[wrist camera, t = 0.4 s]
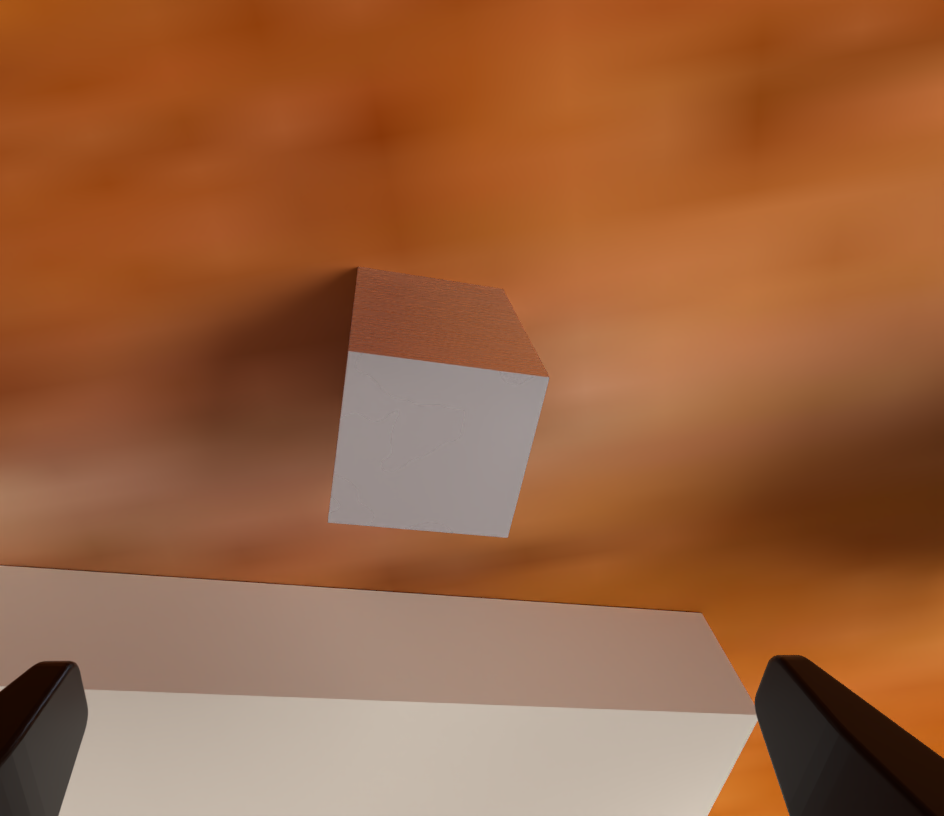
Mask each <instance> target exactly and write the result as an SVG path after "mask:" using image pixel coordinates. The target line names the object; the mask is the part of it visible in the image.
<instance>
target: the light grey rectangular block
mask: <svg viewBox="0 0 944 816" xmlns="http://www.w3.org/2000/svg"><path fill="white" fill-rule="evenodd" d="M548 381H549V376H548V374H547V372H546V370H545V368H544V366H543V364H542V362H541V360H540V358H539V357H538V355H537V353H536V351H535V349H534V347H533V345H532V343H531V341H530V339H529V338H528V336H527V334H526V332H525V330H524V328H523V326H522V324H521V322H520V320H519V319H518V317H517V315H516V313H515V311H514V309H513V307H512V305H511V303H510V301H509V300H508V298H507V296H506V294H505V292H504V290H503V289H499V288H493V287H486V286H480V285H473V284H467V283H460V282H454V281H447V280H441V279H435V278H428V277H422V276H415V275H409V274H402V273H396V272H389V271H383V270H376V269H370V268H364V267H358V272H357V280H356V288H355V297H354V305H353V313H352V321H351V330H350V338H349V346H348V354H347V363H346V371H345V379H344V387H343V396H342V404H341V413H340V421H339V430H338V439H337V447H336V456H335V465H334V473H333V482H332V491H331V499H330V508H329V517H328V523H340V524H351V525H363V526H375V527H387V528H399V529H410V530H422V531H434V532H446V533H458V534H469V535H481V536H493V537H505V538H508V535H509V531H510V527H511V523H512V519H513V515H514V512H515V508H516V504H517V500H518V496H519V492H520V489H521V485H522V481H523V477H524V473H525V469H526V466H527V462H528V458H529V454H530V450H531V446H532V443H533V439H534V435H535V431H536V427H537V423H538V420H539V416H540V412H541V408H542V404H543V400H544V397H545V393H546V389H547V385H548Z"/></svg>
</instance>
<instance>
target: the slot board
mask: <svg viewBox="0 0 944 816" xmlns="http://www.w3.org/2000/svg"><path fill="white" fill-rule="evenodd" d="M42 661H73V662H75V663H76V664H77V665H78V667H79V669H80V673H81V678H82V682H83V687H84V691H85V696H86V700H87V705H88V720H87V725H86V729H85V733H84V736H83V739H82V742H81V745H80V749H79V752H78V755H77V758H76V761H75V765H74V768H73V771H72V774H71V777H70V781H69V784H68V787H67V790H66V793H65V797H64V800H63V803H62V806H61V809H60V813H59V816H707V815H708V814H709V812H710V810H711V808H712V806H713V804H714V802H715V800H716V798H717V797H718V795H719V793H720V791H721V789H722V787H723V785H724V783H725V781H726V779H727V778H728V776H729V774H730V772H731V770H732V768H733V766H734V764H735V762H736V760H737V759H738V757H739V755H740V753H741V751H742V749H743V747H744V745H745V743H746V741H747V740H748V738H749V736H750V734H751V732H752V730H753V728H754V726H755V724H756V722H757V721H758V719H757V716H756V711H755V705H754V703H753V701H752V700H751V698H750V696H749V694H748V693H747V691H746V689H745V688H744V686H743V684H742V682H741V681H740V679H739V677H738V675H737V674H736V672H735V670H734V668H733V667H732V665H731V663H730V661H729V660H728V658H727V656H726V655H725V653H724V651H723V649H722V648H721V646H720V644H719V642H718V641H717V639H716V637H715V635H714V634H713V632H712V630H711V628H710V627H709V625H708V623H707V622H706V620H705V618H704V616H703V615H702V613H694V612H679V611H665V610H650V609H635V608H620V607H606V606H591V605H576V604H561V603H547V602H532V601H517V600H502V599H488V598H473V597H458V596H443V595H429V594H414V593H399V592H384V591H370V590H355V589H340V588H325V587H311V586H296V585H281V584H266V583H252V582H237V581H222V580H207V579H193V578H178V577H163V576H148V575H134V574H119V573H104V572H89V571H75V570H60V569H45V568H30V567H16V566H1V565H0V691H1V690H2V689H4V688H5V687H6V686H7V685H9V684H10V683H11V682H13V681H14V680H15V679H16V678H18V677H19V676H20V675H21V674H23V673H24V672H25V671H27V670H28V669H29V668H30V667H32V666H33V665H35V664H37V663H39V662H42Z"/></svg>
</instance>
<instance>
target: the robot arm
mask: <svg viewBox="0 0 944 816" xmlns="http://www.w3.org/2000/svg"><path fill="white" fill-rule="evenodd" d="M755 711H756V716H757V719H758V722H759V725H760V728H761V731H762V734H763V737H764V740H765V743H766V746H767V749H768V752H769V755H770V758H771V761H772V764H773V767H774V770H775V773H776V776H777V779H778V782H779V785H780V788H781V791H782V794H783V797H784V800H785V803H786V806H787V809H788V812H789V815H790V816H944V758H942V757H941V756H939V755H938V754H937V753H935V752H934V751H933V750H931V749H930V748H929V747H927V746H926V745H924V744H923V743H922V742H920V741H919V740H918V739H916V738H915V737H914V736H912V735H911V734H910V733H908V732H907V731H905V730H904V729H903V728H901V727H900V726H899V725H897V724H896V723H895V722H893V721H892V720H890V719H889V718H888V717H886V716H885V715H884V714H882V713H881V712H880V711H878V710H877V709H875V708H874V707H873V706H871V705H870V704H869V703H867V702H866V701H865V700H863V699H862V698H861V697H859V696H858V695H856V694H855V693H854V692H852V691H851V690H850V689H848V688H847V687H846V686H844V685H843V684H841V683H840V682H839V681H837V680H836V679H835V678H833V677H832V676H831V675H829V674H828V673H826V672H825V671H824V670H822V669H821V668H820V667H818V666H817V665H816V664H814V663H813V662H812V661H810V660H809V659H807V658H806V657H803V656H800V655H776V656H774V657H772V658H771V659H770V660H769V662H768V664H767V667H766V670H765V672H764V675H763V677H762V680H761V683H760V685H759V688H758V691H757V693H756V697H755ZM87 720H88V705H87V700H86V696H85V691H84V687H83V682H82V678H81V673H80V669H79V667H78V665H77V664H76V663H75V662H73V661H42V662H39V663H37V664H35V665H33V666H32V667H30V668H29V669H28V670H27V671H25V672H24V673H23V674H21V675H20V676H19V677H18V678H16V679H15V680H14V681H13V682H11V683H10V684H9V685H7V686H6V687H5V688H4V689H2V690H1V691H0V816H59V813H60V809H61V806H62V803H63V800H64V797H65V793H66V790H67V787H68V784H69V781H70V777H71V774H72V771H73V768H74V765H75V761H76V758H77V755H78V752H79V749H80V745H81V742H82V739H83V736H84V733H85V729H86V725H87Z"/></svg>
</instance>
